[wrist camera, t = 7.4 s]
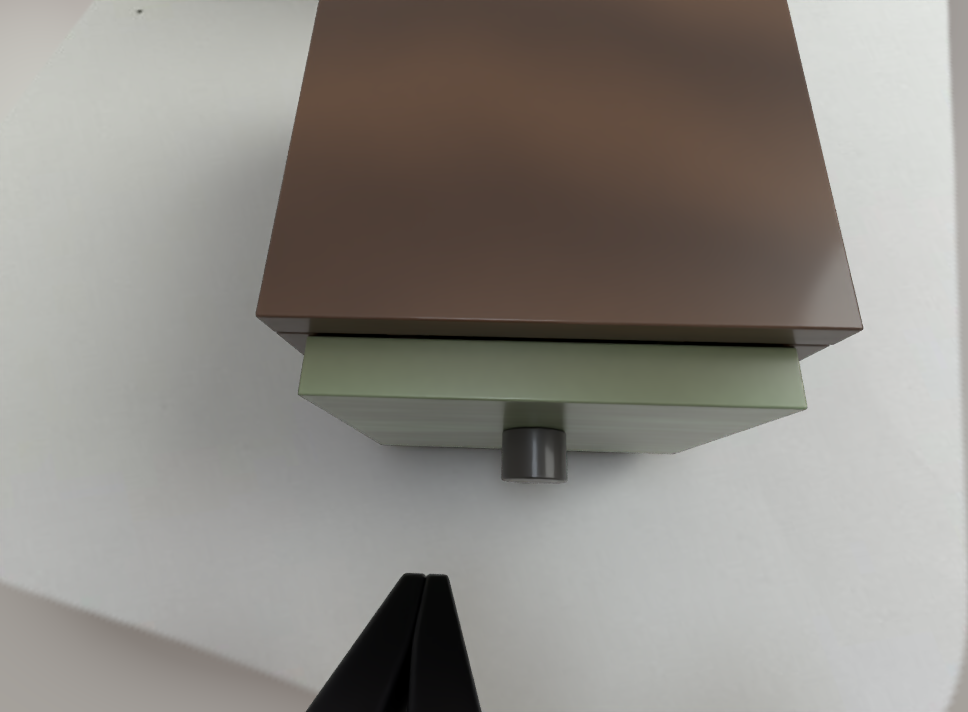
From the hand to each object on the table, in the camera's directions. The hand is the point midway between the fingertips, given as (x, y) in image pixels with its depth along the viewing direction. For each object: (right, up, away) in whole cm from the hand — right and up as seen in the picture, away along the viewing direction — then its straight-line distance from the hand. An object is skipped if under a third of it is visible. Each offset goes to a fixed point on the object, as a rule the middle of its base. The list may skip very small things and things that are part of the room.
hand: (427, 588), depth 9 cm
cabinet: (+3, +9, +10) cm, 13 cm away
